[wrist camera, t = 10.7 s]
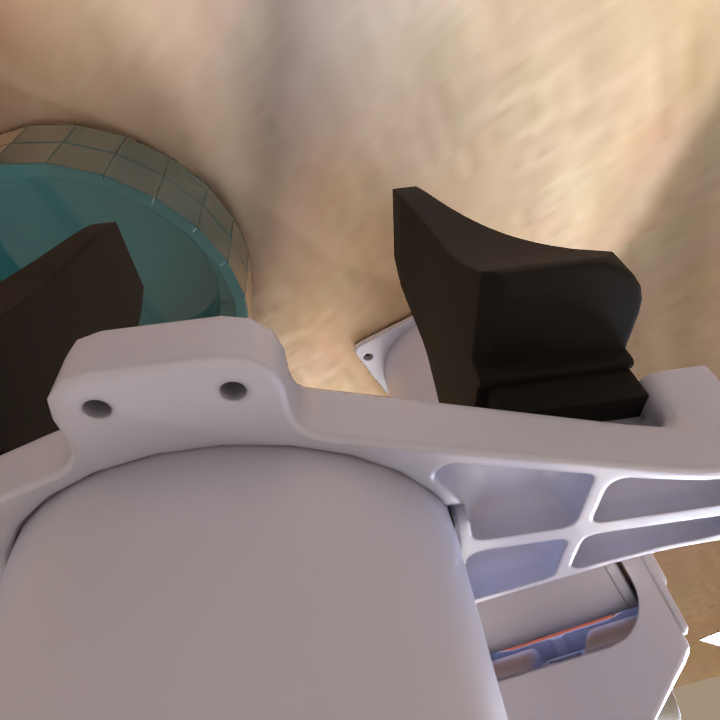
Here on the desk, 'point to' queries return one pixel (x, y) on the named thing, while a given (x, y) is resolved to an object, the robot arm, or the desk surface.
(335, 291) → the desk surface
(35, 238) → the bowl
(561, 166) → the desk surface
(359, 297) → the desk surface
